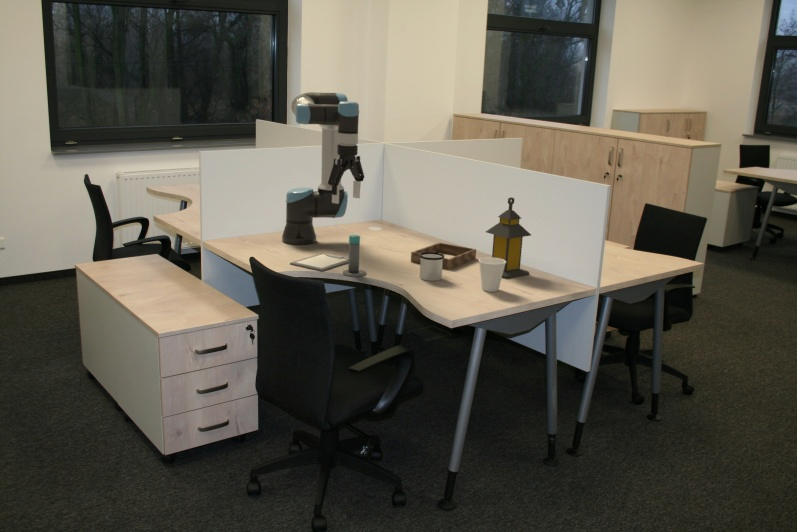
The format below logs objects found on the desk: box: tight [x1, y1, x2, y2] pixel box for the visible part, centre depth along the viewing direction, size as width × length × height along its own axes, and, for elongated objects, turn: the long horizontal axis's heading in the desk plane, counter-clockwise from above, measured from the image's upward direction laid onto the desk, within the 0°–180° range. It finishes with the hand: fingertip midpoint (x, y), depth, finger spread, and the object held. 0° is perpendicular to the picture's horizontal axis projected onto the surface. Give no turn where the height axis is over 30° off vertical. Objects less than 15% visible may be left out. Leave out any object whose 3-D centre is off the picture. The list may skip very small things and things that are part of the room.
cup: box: [478, 256, 506, 293], centre depth 270 cm, size 10×10×11 cm
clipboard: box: [289, 253, 349, 272], centre depth 298 cm, size 20×16×1 cm
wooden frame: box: [410, 242, 477, 270], centre depth 310 cm, size 23×18×4 cm
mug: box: [419, 252, 445, 282], centre depth 283 cm, size 12×10×9 cm
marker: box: [347, 234, 361, 273], centre depth 283 cm, size 4×4×14 cm
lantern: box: [485, 197, 532, 280], centre depth 292 cm, size 14×14×30 cm
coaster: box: [342, 269, 367, 278], centre depth 285 cm, size 9×9×1 cm
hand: (346, 200), depth 283 cm, fingers open, 13 cm apart
